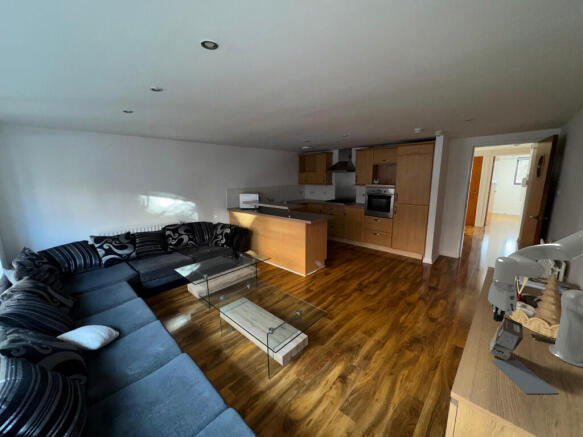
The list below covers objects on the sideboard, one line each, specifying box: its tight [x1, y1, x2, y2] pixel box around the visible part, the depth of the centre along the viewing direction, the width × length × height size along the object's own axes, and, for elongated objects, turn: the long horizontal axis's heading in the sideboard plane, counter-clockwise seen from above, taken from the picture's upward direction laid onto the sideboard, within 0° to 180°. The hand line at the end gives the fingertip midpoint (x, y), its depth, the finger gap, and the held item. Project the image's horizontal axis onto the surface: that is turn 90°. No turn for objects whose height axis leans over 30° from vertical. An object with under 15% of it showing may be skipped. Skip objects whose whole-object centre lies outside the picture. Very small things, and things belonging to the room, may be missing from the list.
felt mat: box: [490, 359, 559, 395], centre depth 95 cm, size 12×16×1 cm
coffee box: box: [489, 316, 524, 360], centre depth 103 cm, size 9×6×16 cm
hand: (498, 320), depth 107 cm, fingers closed
